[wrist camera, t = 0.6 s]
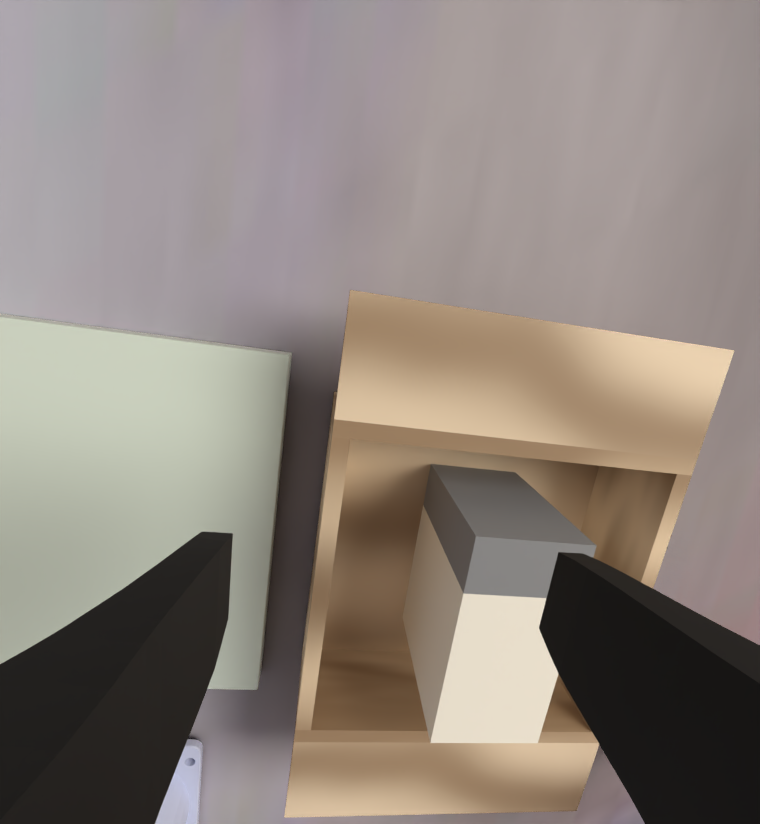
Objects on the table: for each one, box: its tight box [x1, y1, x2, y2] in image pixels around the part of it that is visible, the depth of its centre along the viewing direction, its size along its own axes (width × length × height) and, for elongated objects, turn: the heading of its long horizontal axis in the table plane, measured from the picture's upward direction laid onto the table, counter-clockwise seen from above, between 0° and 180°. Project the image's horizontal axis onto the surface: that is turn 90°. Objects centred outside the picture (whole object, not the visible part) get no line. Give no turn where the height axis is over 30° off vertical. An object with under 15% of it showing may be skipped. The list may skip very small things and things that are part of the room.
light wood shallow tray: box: [284, 290, 734, 818], centre depth 18 cm, size 21×13×4 cm, turn 172°
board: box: [0, 314, 292, 690], centre depth 17 cm, size 16×11×1 cm
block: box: [402, 464, 597, 743], centre depth 16 cm, size 8×4×6 cm, turn 172°
